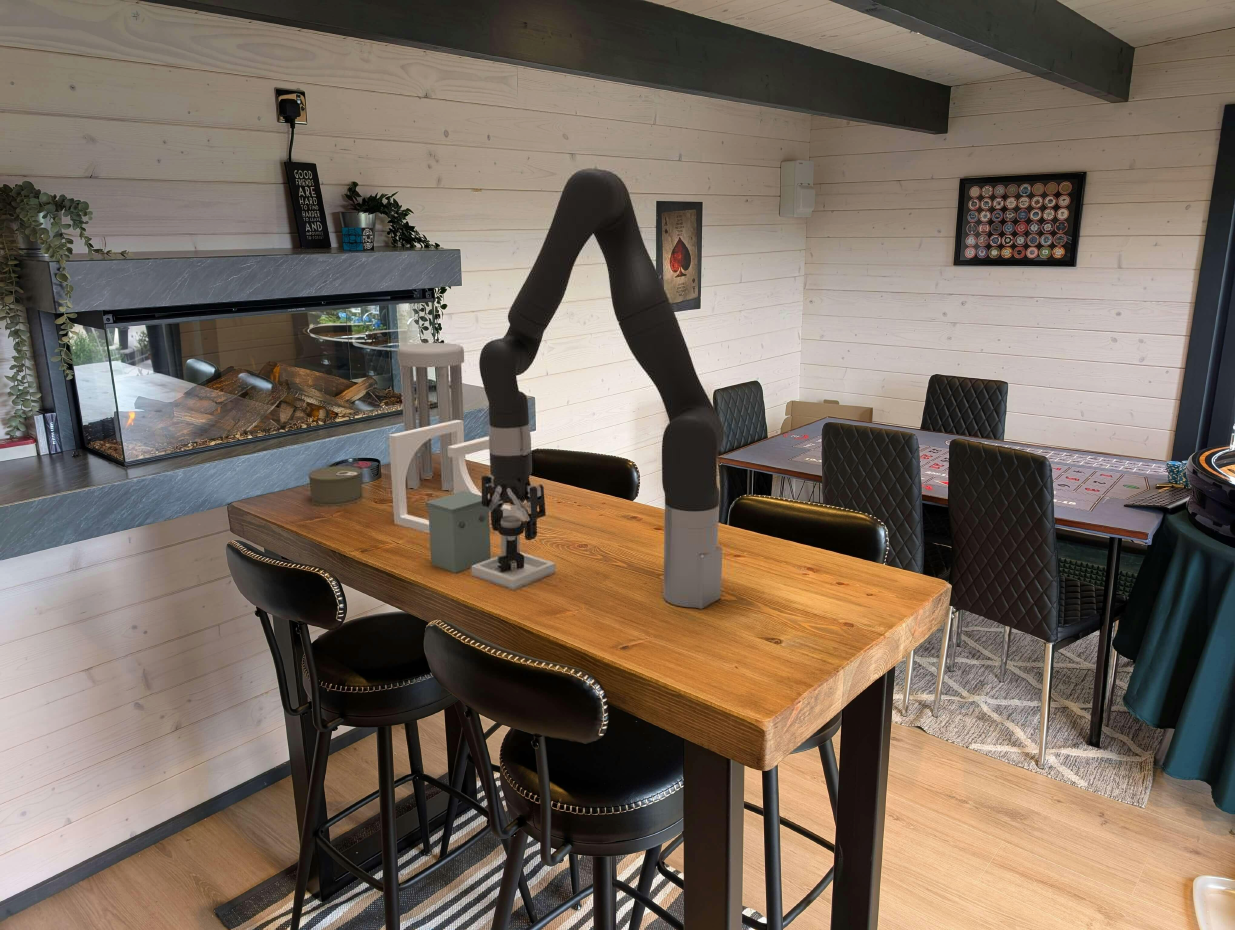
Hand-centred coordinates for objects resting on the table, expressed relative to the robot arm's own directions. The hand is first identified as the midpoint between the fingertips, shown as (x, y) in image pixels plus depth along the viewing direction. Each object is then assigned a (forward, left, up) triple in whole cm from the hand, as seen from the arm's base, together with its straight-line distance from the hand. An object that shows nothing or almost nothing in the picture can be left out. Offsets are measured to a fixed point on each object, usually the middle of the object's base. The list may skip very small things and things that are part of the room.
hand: (514, 534), depth 163 cm
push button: (+2, 0, -8) cm, 8 cm away
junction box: (+13, +2, -8) cm, 15 cm away
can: (+68, -7, -8) cm, 68 cm away
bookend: (+33, -15, -8) cm, 37 cm away
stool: (+60, -31, -8) cm, 68 cm away
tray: (0, 0, -8) cm, 8 cm away
